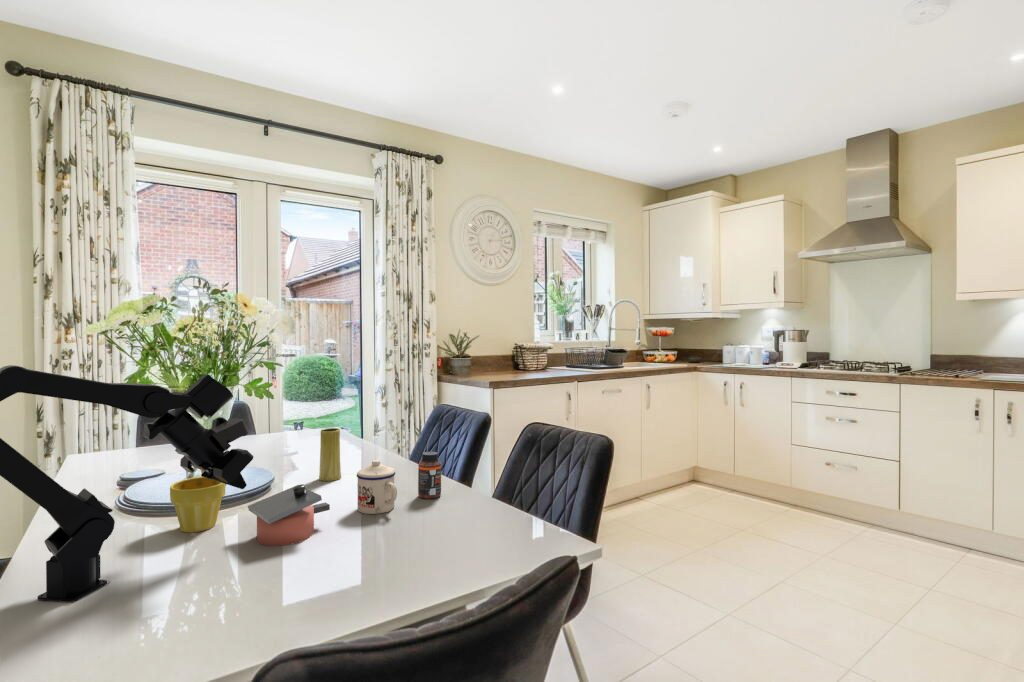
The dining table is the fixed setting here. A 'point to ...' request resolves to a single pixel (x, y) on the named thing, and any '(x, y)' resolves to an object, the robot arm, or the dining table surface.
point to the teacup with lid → (376, 488)
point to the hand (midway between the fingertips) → (244, 487)
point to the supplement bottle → (429, 476)
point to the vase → (330, 455)
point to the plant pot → (197, 502)
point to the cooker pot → (289, 527)
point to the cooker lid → (284, 503)
